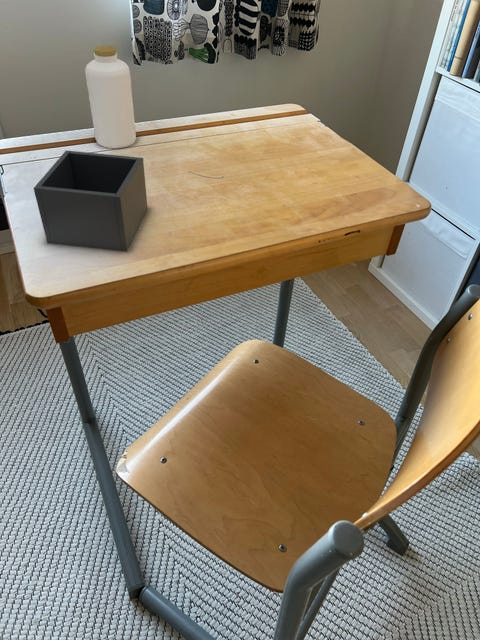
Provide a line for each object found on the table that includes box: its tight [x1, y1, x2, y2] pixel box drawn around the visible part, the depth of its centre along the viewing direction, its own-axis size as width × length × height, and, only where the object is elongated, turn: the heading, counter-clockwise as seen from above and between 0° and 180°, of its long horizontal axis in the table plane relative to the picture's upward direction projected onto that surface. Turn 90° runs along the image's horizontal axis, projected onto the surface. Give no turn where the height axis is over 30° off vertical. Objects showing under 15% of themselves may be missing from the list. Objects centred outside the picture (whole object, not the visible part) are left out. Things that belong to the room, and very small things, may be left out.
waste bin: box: [33, 150, 149, 253], centre depth 80 cm, size 13×13×10 cm
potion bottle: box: [84, 44, 137, 149], centre depth 101 cm, size 8×8×18 cm
